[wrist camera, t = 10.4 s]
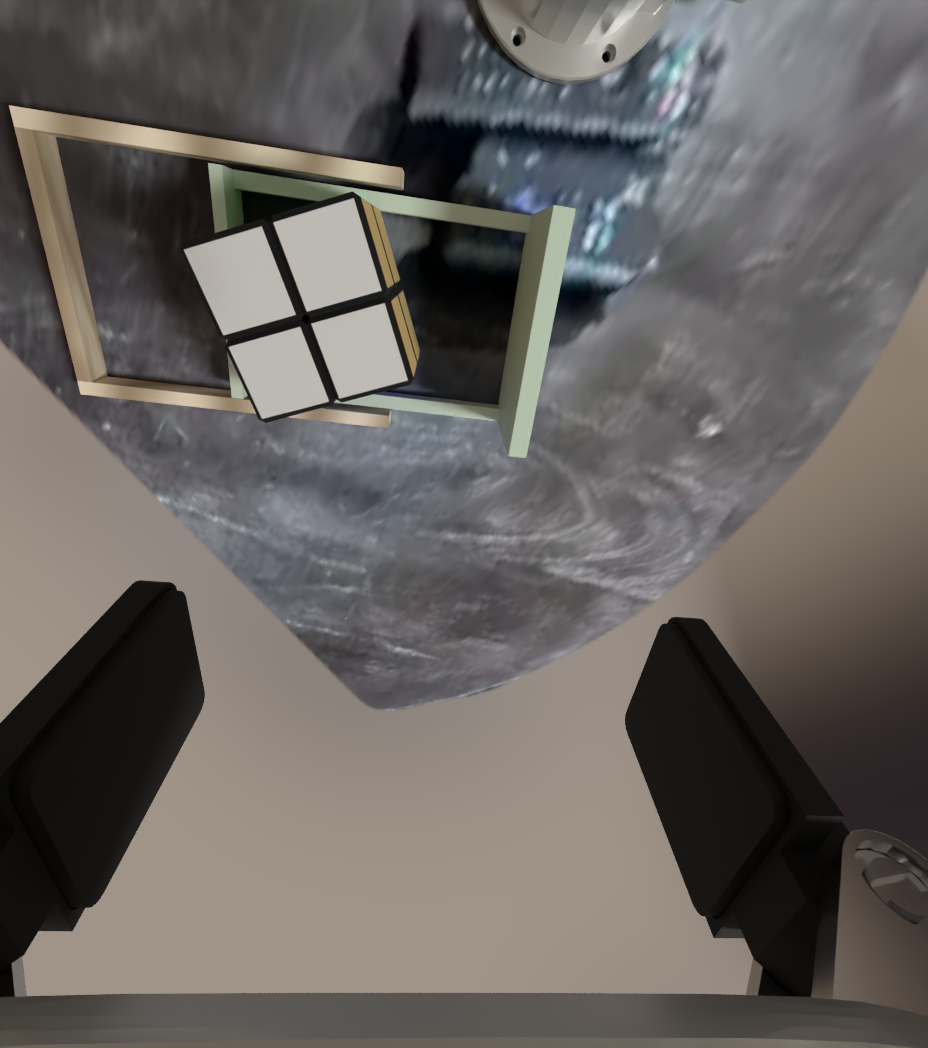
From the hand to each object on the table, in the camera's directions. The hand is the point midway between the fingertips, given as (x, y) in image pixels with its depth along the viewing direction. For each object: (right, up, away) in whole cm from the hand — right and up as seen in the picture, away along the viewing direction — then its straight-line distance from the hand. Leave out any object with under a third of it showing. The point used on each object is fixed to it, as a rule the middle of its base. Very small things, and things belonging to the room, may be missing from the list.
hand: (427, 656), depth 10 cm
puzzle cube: (-9, +19, +26) cm, 34 cm away
